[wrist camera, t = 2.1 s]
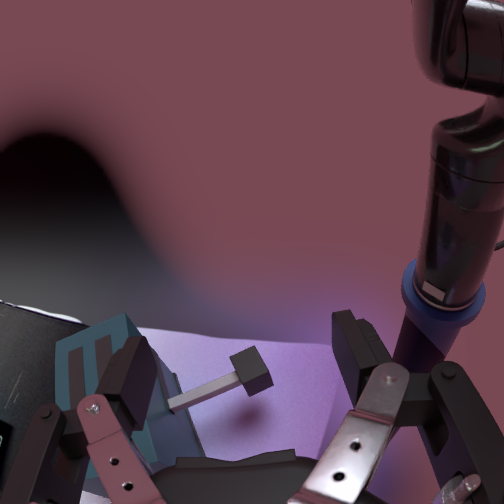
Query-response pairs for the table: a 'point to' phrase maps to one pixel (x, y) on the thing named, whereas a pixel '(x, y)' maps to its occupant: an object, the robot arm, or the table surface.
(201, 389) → the slider
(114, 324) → the toaster
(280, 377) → the table surface
